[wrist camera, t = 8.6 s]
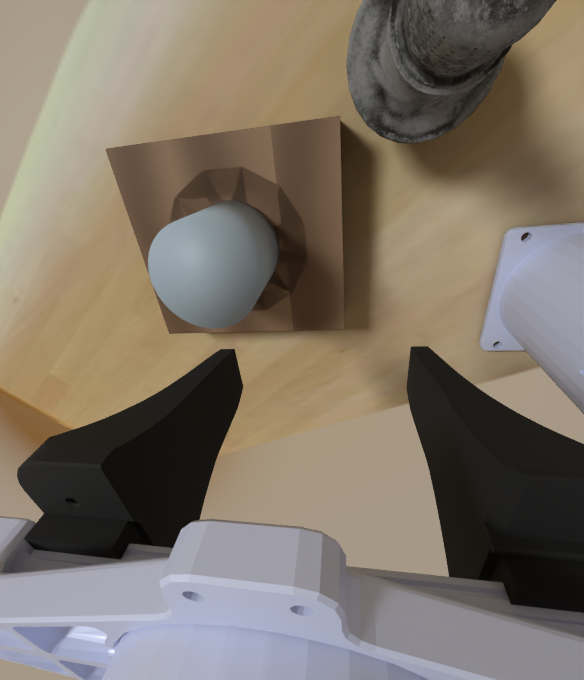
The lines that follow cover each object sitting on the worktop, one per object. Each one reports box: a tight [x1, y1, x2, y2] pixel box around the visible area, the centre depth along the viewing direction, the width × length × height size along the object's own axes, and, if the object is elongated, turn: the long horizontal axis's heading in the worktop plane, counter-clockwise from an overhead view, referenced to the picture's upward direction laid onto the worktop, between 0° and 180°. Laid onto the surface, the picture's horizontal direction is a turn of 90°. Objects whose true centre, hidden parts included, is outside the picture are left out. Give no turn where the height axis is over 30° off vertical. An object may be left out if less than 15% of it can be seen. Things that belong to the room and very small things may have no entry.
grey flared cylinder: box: [347, 0, 556, 144], centre depth 10 cm, size 6×6×12 cm
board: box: [106, 116, 345, 334], centre depth 19 cm, size 12×11×2 cm
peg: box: [148, 200, 280, 329], centre depth 17 cm, size 5×5×7 cm
